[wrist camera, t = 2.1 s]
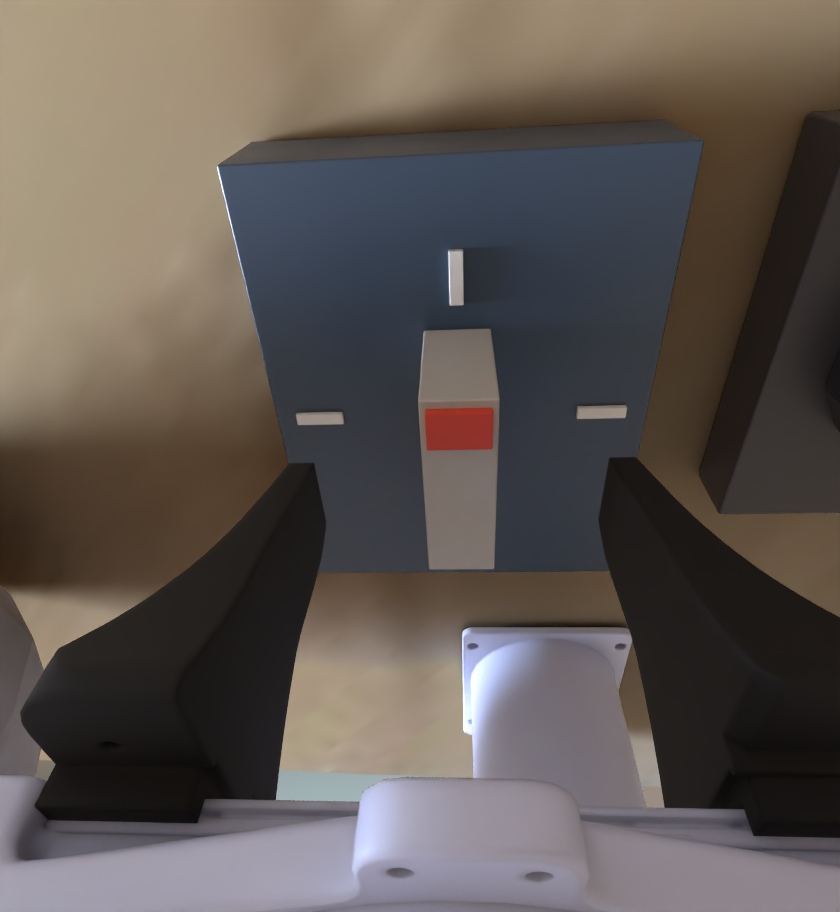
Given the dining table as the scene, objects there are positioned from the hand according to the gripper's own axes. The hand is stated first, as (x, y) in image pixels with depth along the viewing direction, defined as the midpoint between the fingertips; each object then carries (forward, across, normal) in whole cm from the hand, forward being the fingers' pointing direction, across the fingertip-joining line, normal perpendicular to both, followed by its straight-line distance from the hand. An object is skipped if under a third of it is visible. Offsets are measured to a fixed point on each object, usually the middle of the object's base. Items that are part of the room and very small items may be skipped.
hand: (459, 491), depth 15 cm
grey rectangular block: (+4, 0, 0) cm, 4 cm away
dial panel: (+7, 0, 0) cm, 7 cm away
